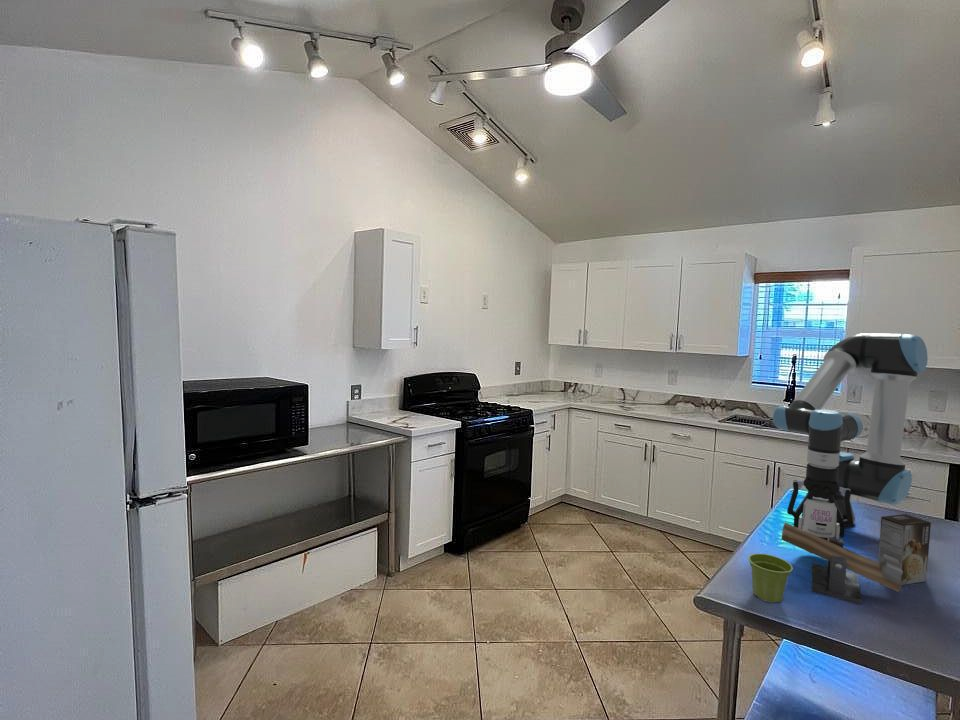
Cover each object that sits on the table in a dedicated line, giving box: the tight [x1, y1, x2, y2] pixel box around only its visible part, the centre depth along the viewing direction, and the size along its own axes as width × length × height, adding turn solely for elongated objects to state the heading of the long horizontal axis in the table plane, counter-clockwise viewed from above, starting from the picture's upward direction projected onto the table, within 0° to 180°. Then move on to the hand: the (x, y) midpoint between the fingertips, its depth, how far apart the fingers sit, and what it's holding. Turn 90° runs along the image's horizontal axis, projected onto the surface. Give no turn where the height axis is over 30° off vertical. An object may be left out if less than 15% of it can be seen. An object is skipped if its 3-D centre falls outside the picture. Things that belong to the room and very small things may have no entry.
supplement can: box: [801, 496, 837, 553], centre depth 145 cm, size 8×8×15 cm
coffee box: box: [877, 513, 932, 586], centre depth 134 cm, size 9×6×16 cm
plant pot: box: [747, 553, 794, 604], centre depth 124 cm, size 9×9×9 cm
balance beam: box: [781, 522, 903, 593], centre depth 130 cm, size 10×25×4 cm, turn 57°
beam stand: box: [810, 537, 863, 606], centre depth 130 cm, size 17×10×10 cm, turn 147°
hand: (817, 543), depth 145 cm, fingers closed on supplement can, 8 cm apart
